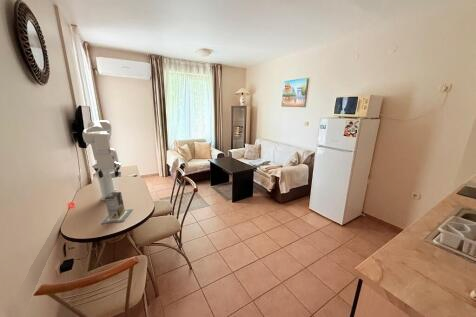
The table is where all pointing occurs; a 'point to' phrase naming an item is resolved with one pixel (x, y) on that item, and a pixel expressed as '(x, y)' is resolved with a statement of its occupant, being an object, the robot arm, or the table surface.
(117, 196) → the coffee box
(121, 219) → the mat
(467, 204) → the table surface
